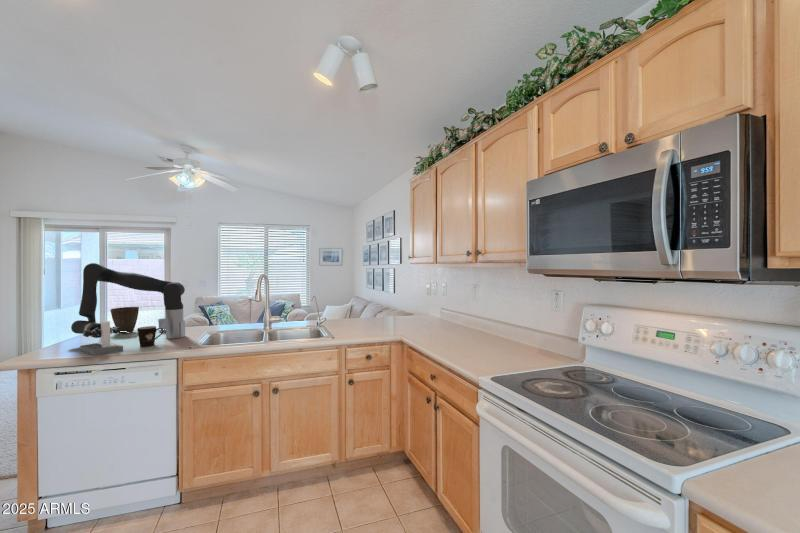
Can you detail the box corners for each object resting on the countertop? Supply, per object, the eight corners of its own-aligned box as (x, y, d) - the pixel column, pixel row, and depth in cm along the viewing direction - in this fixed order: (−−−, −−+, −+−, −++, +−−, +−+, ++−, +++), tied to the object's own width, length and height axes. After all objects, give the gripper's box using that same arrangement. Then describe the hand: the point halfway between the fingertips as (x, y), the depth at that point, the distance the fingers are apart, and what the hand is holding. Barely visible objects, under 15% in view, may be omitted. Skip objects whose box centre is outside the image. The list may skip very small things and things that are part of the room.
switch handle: (101, 347, 188) (100, 321, 188) (108, 346, 191) (107, 320, 190) (103, 347, 187) (102, 322, 187) (110, 346, 189) (109, 321, 189)
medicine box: (164, 332, 240) (164, 319, 240) (158, 332, 241) (158, 318, 241) (174, 330, 248) (173, 317, 248) (168, 329, 249) (168, 317, 248)
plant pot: (106, 335, 230) (105, 310, 230) (117, 331, 245) (116, 307, 244) (134, 334, 234) (133, 309, 234) (143, 329, 249) (142, 306, 248)
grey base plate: (80, 350, 193) (80, 345, 193) (108, 345, 203) (107, 341, 203) (94, 355, 182) (94, 350, 182) (123, 350, 192) (123, 345, 192)
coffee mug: (136, 348, 196) (135, 329, 196) (139, 345, 204) (138, 327, 204) (162, 345, 202) (161, 327, 202) (163, 342, 209) (163, 325, 209)
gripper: (77, 325, 190) (89, 328, 182) (111, 320, 202) (123, 323, 193) (78, 339, 191) (89, 343, 182) (111, 334, 203) (123, 337, 194)
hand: (107, 333), depth 188 cm, fingers open, 8 cm apart
